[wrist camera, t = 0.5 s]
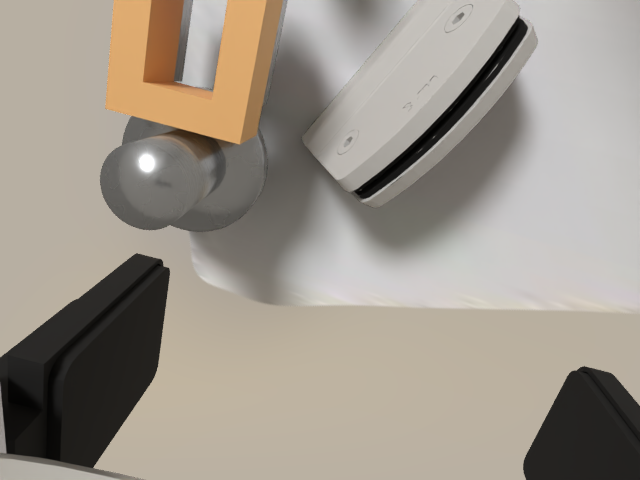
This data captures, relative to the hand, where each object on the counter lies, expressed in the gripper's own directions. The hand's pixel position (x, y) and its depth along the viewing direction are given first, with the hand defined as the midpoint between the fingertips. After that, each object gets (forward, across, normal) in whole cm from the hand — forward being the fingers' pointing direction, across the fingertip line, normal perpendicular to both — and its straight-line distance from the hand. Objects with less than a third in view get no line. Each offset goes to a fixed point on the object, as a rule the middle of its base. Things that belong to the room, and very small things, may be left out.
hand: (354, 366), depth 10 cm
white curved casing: (+29, -2, -6) cm, 29 cm away
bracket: (+22, +11, -7) cm, 26 cm away
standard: (+28, +11, -2) cm, 30 cm away
